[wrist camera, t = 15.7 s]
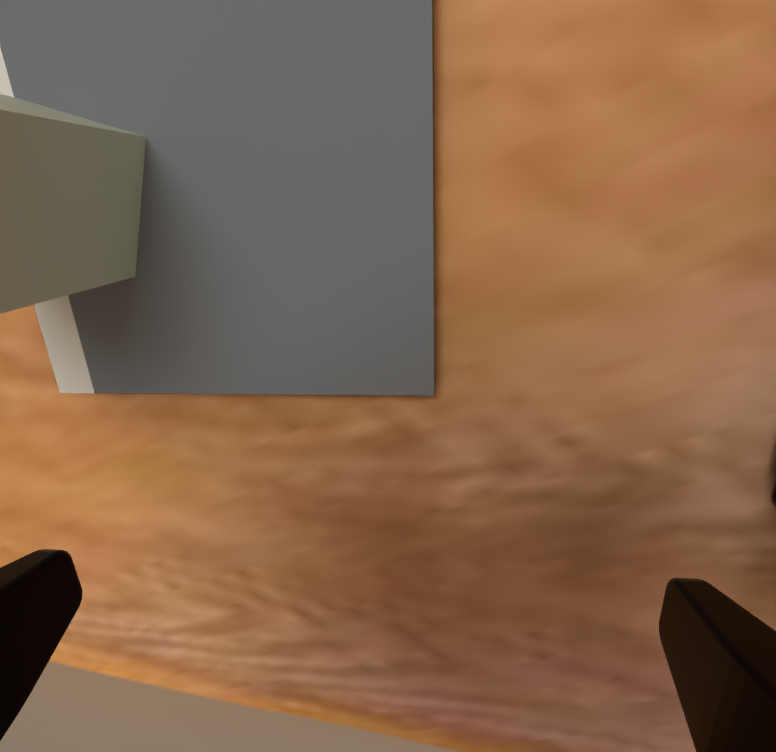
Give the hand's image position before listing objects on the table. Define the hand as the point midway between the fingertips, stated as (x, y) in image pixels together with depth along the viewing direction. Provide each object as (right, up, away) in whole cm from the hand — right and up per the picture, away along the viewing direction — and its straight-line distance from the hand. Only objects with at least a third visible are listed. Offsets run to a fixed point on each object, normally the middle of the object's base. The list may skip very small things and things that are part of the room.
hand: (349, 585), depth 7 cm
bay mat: (-6, +9, +11) cm, 16 cm away
